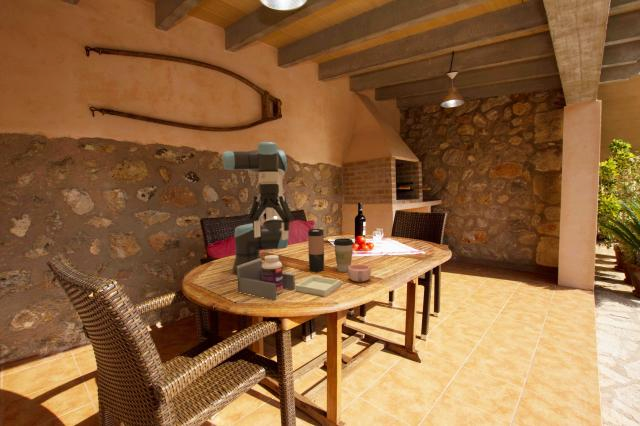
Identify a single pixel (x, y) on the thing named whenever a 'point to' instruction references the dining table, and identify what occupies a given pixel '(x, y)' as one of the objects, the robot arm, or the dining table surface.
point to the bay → (259, 280)
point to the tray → (318, 286)
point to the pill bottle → (273, 272)
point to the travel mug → (316, 250)
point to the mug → (359, 272)
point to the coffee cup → (343, 253)
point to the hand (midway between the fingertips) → (270, 238)
